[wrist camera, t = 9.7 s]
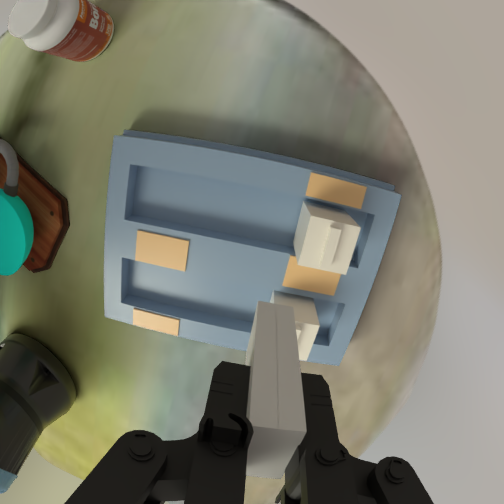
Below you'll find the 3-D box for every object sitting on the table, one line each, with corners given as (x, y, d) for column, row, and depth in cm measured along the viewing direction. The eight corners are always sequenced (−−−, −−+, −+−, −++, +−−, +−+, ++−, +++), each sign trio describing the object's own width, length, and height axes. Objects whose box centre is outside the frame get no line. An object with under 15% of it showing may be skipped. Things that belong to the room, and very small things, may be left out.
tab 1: (264, 321, 33) (263, 358, 27) (273, 287, 32) (274, 321, 26) (301, 328, 33) (307, 365, 28) (312, 295, 32) (320, 329, 26)
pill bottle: (125, 35, 25) (67, 3, 14) (81, 74, 26) (12, 60, 16) (101, 1, 23) (44, -34, 13) (60, 38, 25) (-5, 19, 14)
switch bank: (115, 306, 35) (104, 321, 32) (129, 129, 28) (113, 130, 25) (333, 351, 36) (337, 370, 33) (390, 183, 29) (404, 190, 26)
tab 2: (292, 242, 30) (298, 268, 24) (303, 200, 29) (311, 217, 23) (333, 250, 30) (347, 278, 24) (345, 210, 29) (363, 229, 23)
